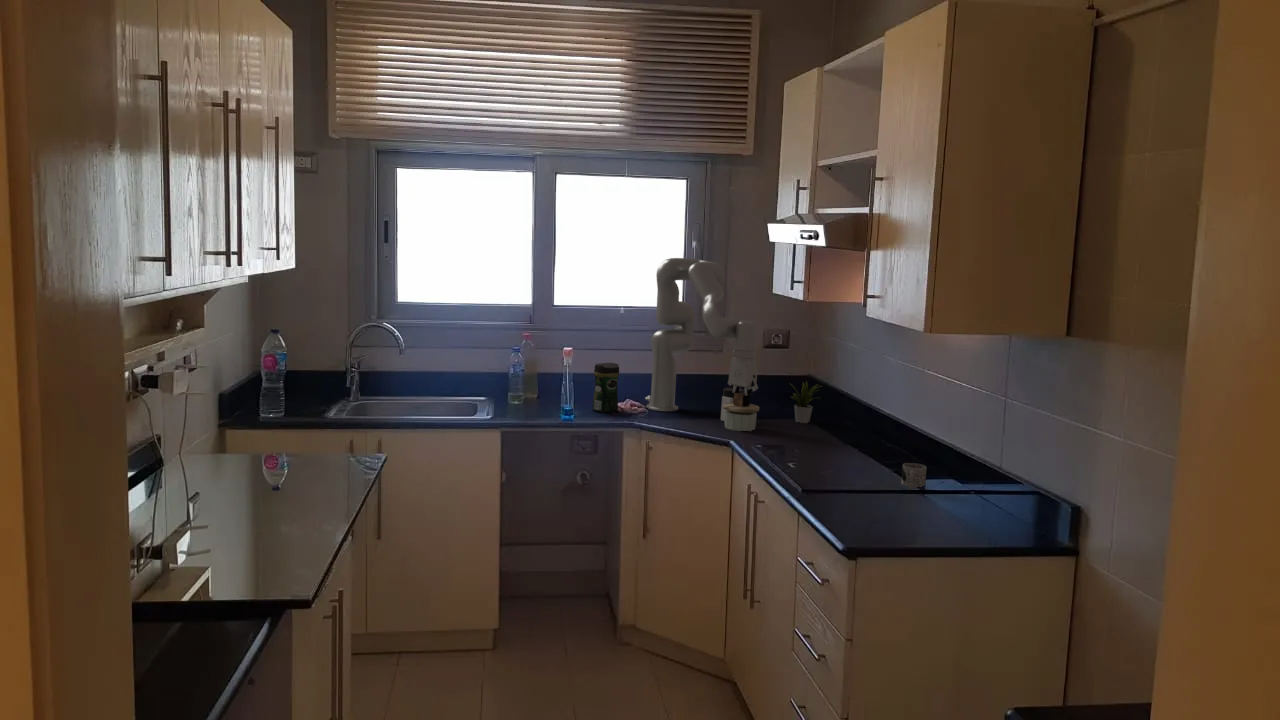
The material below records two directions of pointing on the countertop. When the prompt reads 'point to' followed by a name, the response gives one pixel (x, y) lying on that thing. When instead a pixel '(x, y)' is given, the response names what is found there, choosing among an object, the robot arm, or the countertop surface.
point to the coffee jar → (606, 387)
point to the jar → (727, 399)
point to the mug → (913, 475)
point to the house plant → (803, 403)
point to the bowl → (740, 421)
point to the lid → (740, 405)
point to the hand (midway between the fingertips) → (741, 404)
